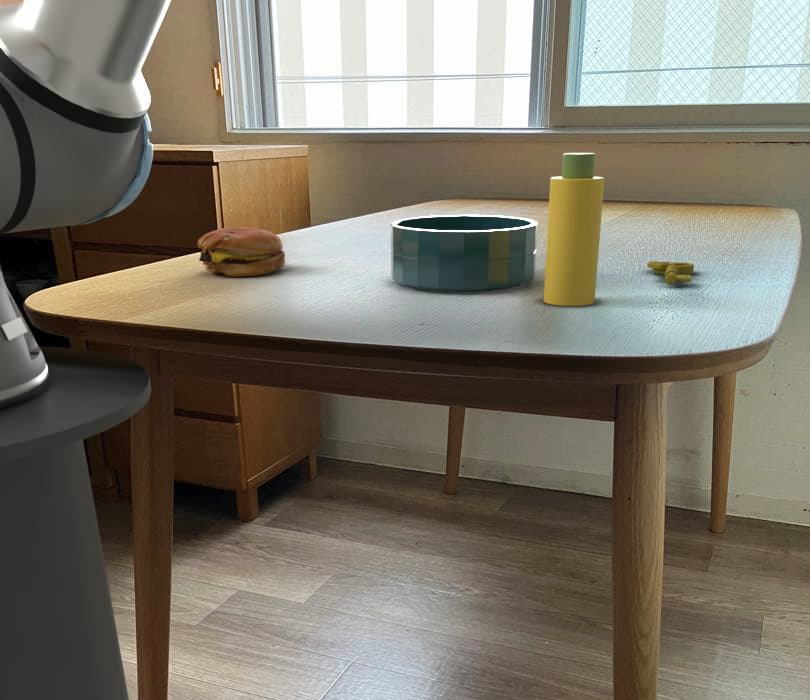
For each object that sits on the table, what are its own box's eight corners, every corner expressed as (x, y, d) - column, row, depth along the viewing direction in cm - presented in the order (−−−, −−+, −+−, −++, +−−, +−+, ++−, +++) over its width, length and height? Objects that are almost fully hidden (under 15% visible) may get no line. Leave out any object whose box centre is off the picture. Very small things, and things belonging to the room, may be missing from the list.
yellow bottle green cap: (535, 303, 84) (543, 154, 78) (554, 295, 88) (563, 152, 82) (584, 308, 82) (596, 155, 76) (601, 299, 85) (613, 152, 80)
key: (694, 274, 90) (643, 272, 91) (692, 287, 90) (642, 285, 91) (694, 259, 100) (649, 258, 101) (693, 271, 100) (647, 269, 102)
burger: (283, 263, 108) (280, 222, 106) (287, 275, 100) (284, 232, 98) (201, 266, 107) (196, 225, 105) (198, 279, 98) (193, 235, 96)
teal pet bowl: (365, 287, 93) (363, 226, 90) (433, 266, 105) (434, 213, 102) (497, 299, 86) (500, 234, 83) (555, 276, 98) (558, 218, 95)
